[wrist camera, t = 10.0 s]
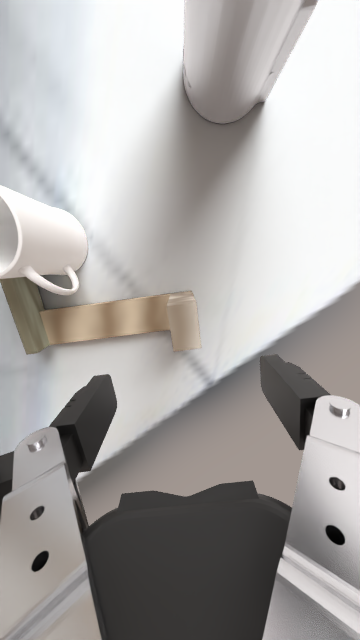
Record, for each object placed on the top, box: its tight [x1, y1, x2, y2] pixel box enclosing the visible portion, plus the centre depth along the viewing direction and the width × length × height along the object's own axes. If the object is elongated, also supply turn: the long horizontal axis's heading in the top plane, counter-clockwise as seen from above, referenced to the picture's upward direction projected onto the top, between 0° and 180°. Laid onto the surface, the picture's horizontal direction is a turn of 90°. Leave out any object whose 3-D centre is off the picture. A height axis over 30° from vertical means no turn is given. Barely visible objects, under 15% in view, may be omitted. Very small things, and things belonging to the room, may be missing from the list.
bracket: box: [0, 277, 201, 354], centre depth 24 cm, size 23×19×9 cm
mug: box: [0, 185, 88, 295], centre depth 23 cm, size 12×8×12 cm
